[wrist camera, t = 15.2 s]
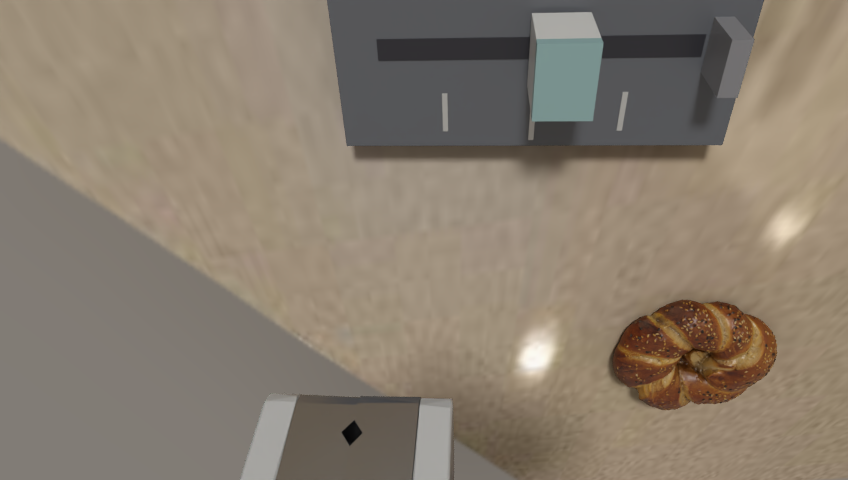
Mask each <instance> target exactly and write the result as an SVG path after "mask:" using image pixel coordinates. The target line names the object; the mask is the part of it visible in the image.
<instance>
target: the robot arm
mask: <svg viewBox="0 0 848 480" xmlns="http://www.w3.org/2000/svg"><path fill="white" fill-rule="evenodd" d="M240 480H454V427H453V399H452V398H421V397H376V396H373V397H371V396H361V397H342V396H341V397H340V396H319V395H302V394H273V393H270V394H269V396H268V398H267V399H266V401H265V402H264V404H263V407H262V411H261V414H260V417H259V420H258V423H257V426H256V430H255V433H254V436H253V439H252V442H251V445H250V448H249V451H248V455H247V458H246V461H245V464H244V467H243V471H242V474H241V477H240Z"/></svg>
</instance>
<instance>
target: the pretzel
mask: <svg viewBox="0 0 848 480" xmlns="http://www.w3.org/2000/svg"><path fill="white" fill-rule="evenodd" d="M776 348H777V344H776V340H775V336H774V335H773V332H772V331H771V330H770V329H769V328H768V326H767V325H766V324H765V323H764V322H763V321H761V320H760V319H758V318H756V317H754V316H751V315H747V314H744V313H743V312H741V311H740V310H739V309H738V308H737V307H736V306H735V305H730V304H727V303H723V302H718V301H717V302H712V303H704V304H701V303H698V302H695V301H691V300H680V301H676V302H673V303H671V304H667V305H666V306H664V307H662V308H660V309H659V310H658V311H656V312H654V313H653V314H652V315H651V316H648V315H646V316H644V317H640V318H639V319H638V320H636V321H635V322H633V323H632V324H631V325H630V326H629V327H628V328H627V329H626V330H625V332H624V333H623V335H622V337H621V340H620V342H619V344H618V345H617V347H616V349H615V352H614V356H613V369H614V372H615V374H616V376H617V378H618V379H619V380H620V381H621V382H622V383H623V384H625V385H626V386H628V387H634V388H636V389H637V390H638V393H639V399H640V400H642V401H644V402H645V403H646V404H648V405H649V406H652V407H656V408H658V409H661V410H671V409H674V410H675V409H678V408H680V407H682V406H685V405H686V404H688V403H689V402H690V401H692V402H694V403H696V404H701V403H703V404H717V403H722V402H728V401H729V400H731V399H734V398H736V397H737V396H739V395H741V394H742V393H743V392H744V391H745V390H746V389H747V388H748V387H750V386H752V385H753V384H755V383H756V382H757V381H759V380H761V379H762V378H763V377H765V376H766V375H767V373H768V372H769V371H770V369H771V368H772V367H773V364H774V362H775V360H776V359H775V358H776V356H777V355H776V354H777V350H776Z"/></svg>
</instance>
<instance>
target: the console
mask: <svg viewBox="0 0 848 480" xmlns="http://www.w3.org/2000/svg"><path fill="white" fill-rule="evenodd" d="M763 2H764V0H327V3H328V10H329V18H330V25H331V32H332V40H333V47H334V54H335V62H336V69H337V77H338V84H339V91H340V99H341V106H342V113H343V121H344V128H345V136H346V143H347V146H517V145H722V144H723V141H724V137H725V134H726V130H727V127H728V123H729V120H730V116H731V113H732V110H733V106H734V103H735V99H736V98H738V94H739V91H740V88H741V84H742V81H743V77H744V74H745V70H746V67H747V63H748V60H749V56H750V53H751V50H752V46H753V43H754V38H753V36H754V33H755V30H756V26H757V23H758V19H759V16H760V12H761V9H762V5H763ZM566 12H592V14H593V17H594V19H595V22H596V25H597V27H598V30H599V33H600V35H601V38H602V40H603V51H602V58H601V65H600V72H599V80H598V87H597V94H596V101H595V109H594V116H593V121H532V119H531V112H530V104H529V96H528V88H527V81H528V65H529V49H530V34H531V18H532V13H566Z"/></svg>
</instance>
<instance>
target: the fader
mask: <svg viewBox="0 0 848 480" xmlns="http://www.w3.org/2000/svg"><path fill="white" fill-rule="evenodd" d="M602 51H603V40H602V38H601V35H600V33H599V30H598V27H597V25H596V22H595V19H594V17H593V14H592V12H566V13H532V18H531V34H530V49H529V65H528V81H527V88H528V96H529V104H530V112H531V119H532V121H593V116H594V109H595V101H596V94H597V87H598V80H599V72H600V65H601V58H602Z"/></svg>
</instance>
